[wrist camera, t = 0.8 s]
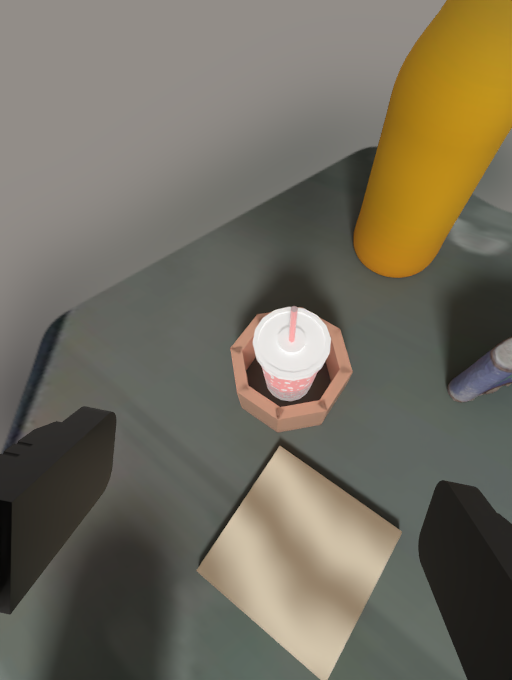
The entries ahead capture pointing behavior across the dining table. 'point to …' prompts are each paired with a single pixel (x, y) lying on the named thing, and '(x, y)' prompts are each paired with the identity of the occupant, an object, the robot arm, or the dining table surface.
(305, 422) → the ceramic ring
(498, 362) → the flask
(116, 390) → the dining table surface
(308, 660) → the wooden coaster
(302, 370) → the beverage cup
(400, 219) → the beer bottle
